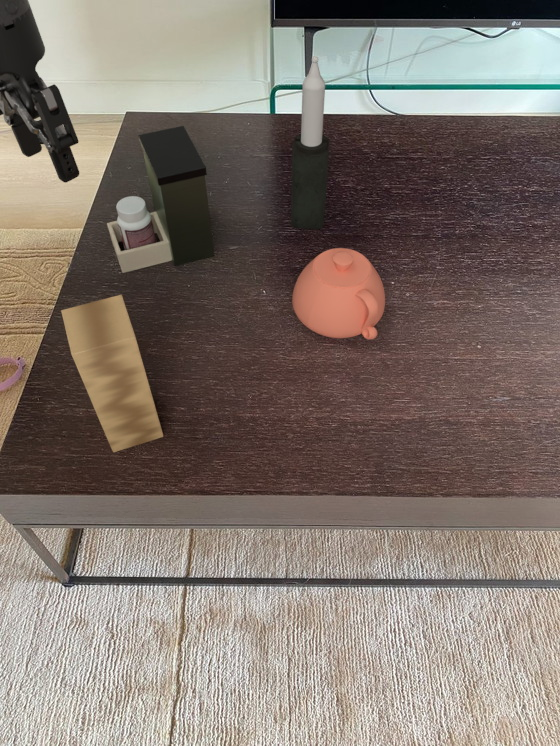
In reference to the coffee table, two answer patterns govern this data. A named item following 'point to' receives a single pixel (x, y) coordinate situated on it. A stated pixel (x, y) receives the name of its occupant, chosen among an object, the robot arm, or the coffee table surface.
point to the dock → (141, 248)
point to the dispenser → (179, 193)
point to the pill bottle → (134, 223)
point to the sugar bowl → (339, 295)
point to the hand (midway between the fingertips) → (51, 165)
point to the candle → (310, 156)
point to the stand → (112, 371)
